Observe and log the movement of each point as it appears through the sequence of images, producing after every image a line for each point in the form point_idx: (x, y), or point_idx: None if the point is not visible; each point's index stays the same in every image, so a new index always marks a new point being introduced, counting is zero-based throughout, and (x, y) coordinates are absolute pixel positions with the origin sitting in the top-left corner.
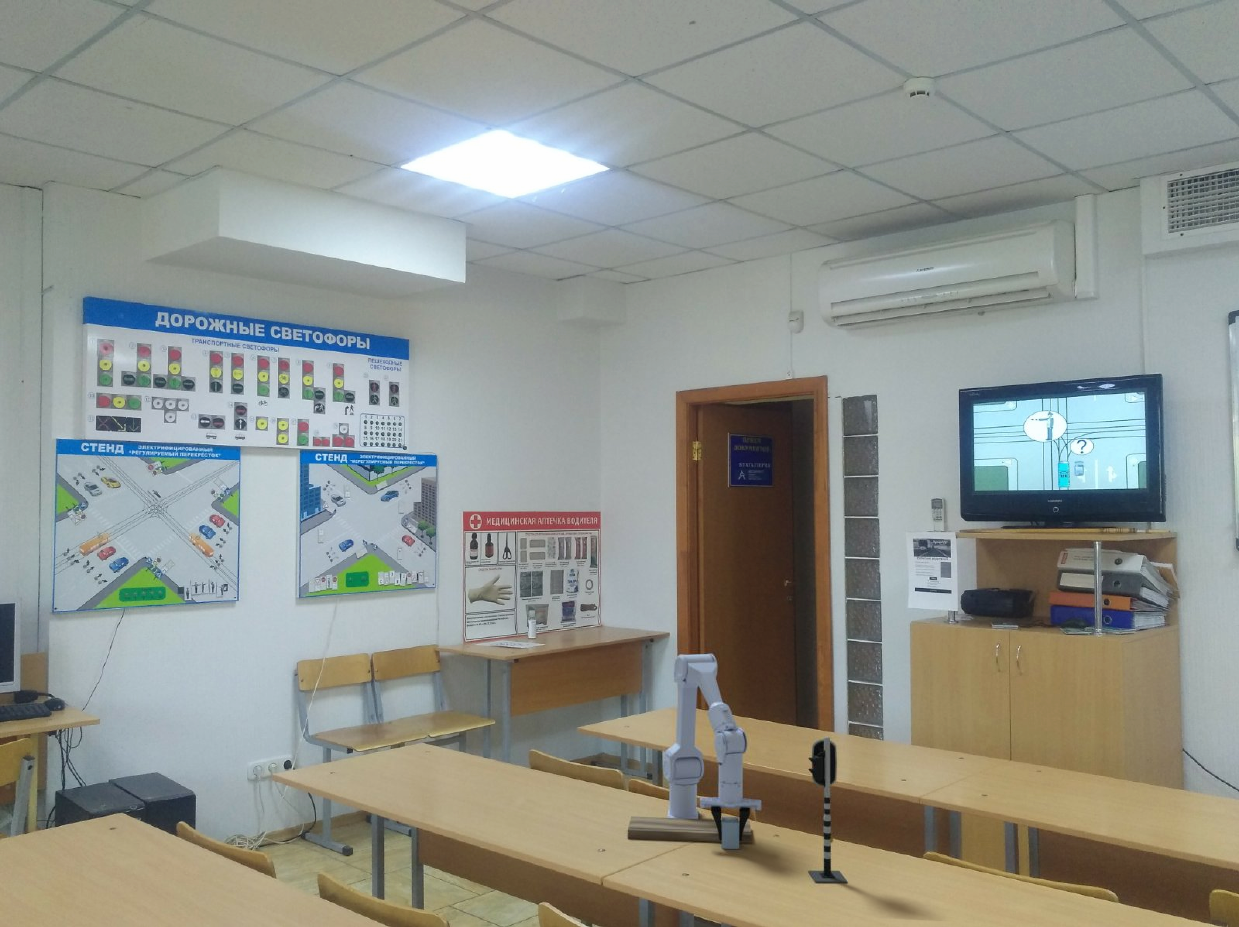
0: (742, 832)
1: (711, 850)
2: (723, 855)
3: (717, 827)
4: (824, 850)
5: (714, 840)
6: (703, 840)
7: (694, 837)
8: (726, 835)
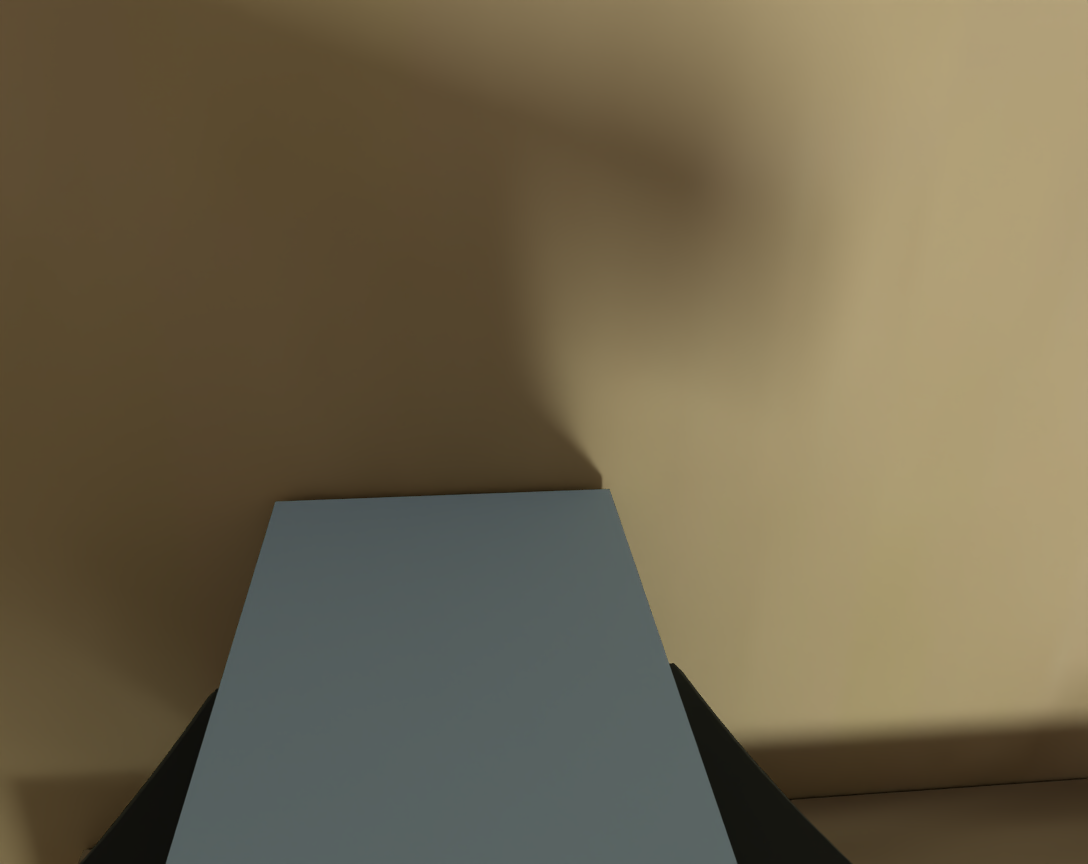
0: (130, 804)
1: (814, 381)
2: (599, 82)
3: (815, 836)
4: None
5: None
6: (882, 805)
7: (1043, 826)
8: (551, 651)
